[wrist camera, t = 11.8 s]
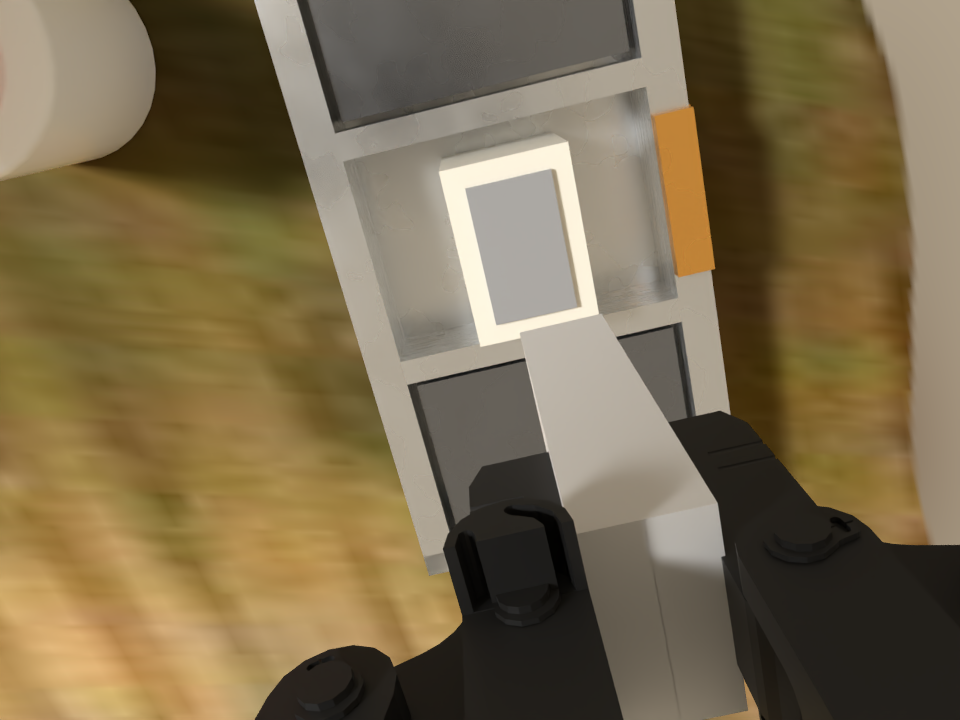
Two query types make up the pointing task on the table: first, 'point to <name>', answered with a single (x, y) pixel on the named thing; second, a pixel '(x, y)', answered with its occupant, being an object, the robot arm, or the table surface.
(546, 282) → the white block
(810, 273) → the table surface
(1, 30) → the pill bottle
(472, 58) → the tray
